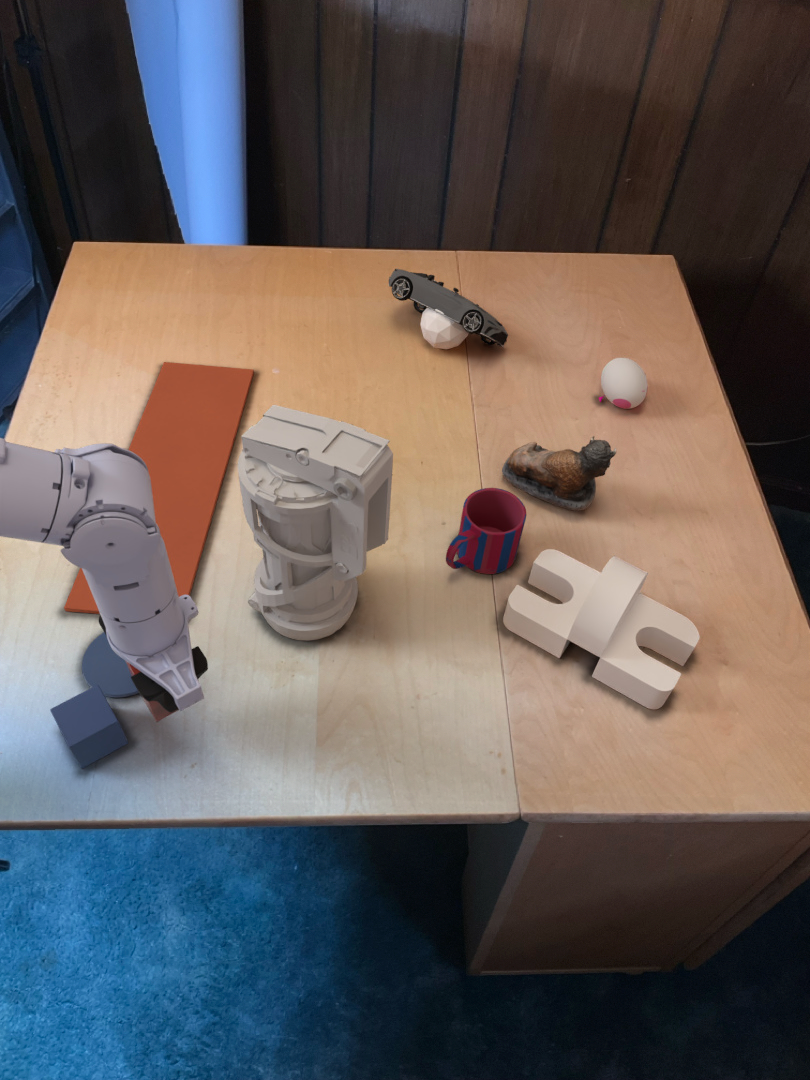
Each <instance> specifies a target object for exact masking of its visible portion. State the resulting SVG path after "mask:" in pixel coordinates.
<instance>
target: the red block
mask: <svg viewBox="0 0 810 1080" xmlns="http://www.w3.org/2000/svg"><path fill="white" fill-rule="evenodd" d="M126 663H127V666H128V669H129V671H130V674H131V676H133V675H135V674H137V673H139V672H141V671H139V670H138V669H137V668H135V667H134V666H132V665H131V664H130V663H128V662H127V661H126ZM199 680H200V679H198V681H199ZM199 682H200V681H199ZM141 698H142V700H143V702H144V703H145V706H146V707H147V708H148V710H149V712H150V714H151V715H152V717H153V719H154V721H155V722H156V723H158V722H160V721H162V720H164V719H166V718H167V717H169V716H171V715H173V714H175V713H177V712H178V711H180V710H179V709H177V710H175V711H174V712H172V713H170V712H168V711H167V710H165V709H164V708H163V706H162V705H161V704H160V703H159V702H157V701H147V700H145V699H144V698H143V697H142V696H141Z"/></svg>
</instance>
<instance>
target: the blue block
mask: <svg viewBox="0 0 810 1080" xmlns="http://www.w3.org/2000/svg"><path fill="white" fill-rule="evenodd" d="M49 711H50V713H51V715H52V717H53V720H54V721H55V723H56V725H57V727H58V729H59V731H60V733H61V736H62V737H63V739H64V741H65V743H66V745H67V747H68V749H69V750H70V752H71V754H72V755H73V758H74V759H75V760H76V762H77V764H78V765H79V767H80V768H81V769H84V768H86V767H88V766H90V765H92V764H93V763H94V764H95V762H97V761H99V760H101V759H103V758H104V757H106V756H109V755H110V754H112V753H114V752H116V751H117V750H119V749H121V748H122V747H124V746H126V745H128V743H129V741H128V739H127V736H126V734H125V732H124V730H123V727H122V725H121V724H120V722H119V720H118V718H117V716H116V714H115V712H114V710H113V709H112V707H111V705H110V703H109V701H108V700H107V697H106V696H104V694H103V692H102V690H101V689H100V687H99V685H96V686H94V687H92V688H91V687H89V688H88V689H86V690H84V691H82V692H81V693H79V694H77V695H75V696H73V697H71V698H69V699H67V700H65V701H63V702H62V703H61V702H60V703H59V704H57V705H55V706H53V707H51V708H50V709H49Z"/></svg>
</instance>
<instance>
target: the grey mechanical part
mask: <svg viewBox="0 0 810 1080" xmlns="http://www.w3.org/2000/svg"><path fill="white" fill-rule="evenodd" d="M240 437H241V444H242V445H241V446H242V449H241V452H240V454H239V456H238V460H237V474H238V481H239V488H240V496H241V499H242V500H241V501H242V507H243V513H244V517H245V520H246V522H247V524H248V526H249V528H250V530H251V532H252V534H253V542H255V543H256V544H257V545H258V547H260V548H261V549H262V559H261V560H260V561H259V563H258V564H257V567H256V570H255V573H254V577H253V578H254V579H253V582H254V583H253V584H254V592H253V593H252V595H251V596H250V597H249V598H248V599H247V603H248V605H249V606H250V607H251V608H252V609H253V610H255V611H257V612H259V613H261V614H262V616H263V618H264V620H265V621H266V622H267V623H268V625H269V626H270V627H271V628H272V629H273V630H274V631H275V632H277V633H278V634H280V635H281V636H284V637H286V638H289V639H290V640H291V639H292V640H297V641H307V642H309V641H317V640H320V639H323V638H326V637H330V636H331V635H333V634H334V633H336V632H337V631H339V630H340V629H341V628H342V627H344V625H345V624H347V622H348V621H349V620H350V617H351V615H352V614H353V612H354V609H355V606H356V603H357V598H358V593H359V592H358V591H359V585H358V579H357V577H358V576H360V575H363V574H364V572H365V571H366V570H367V554H368V552H370V551H371V550H372V551H373V550H374V549H376V548H379V547H381V546H383V545H386V543H387V542H388V540H389V529H390V515H391V500H392V499H391V498H392V483H393V464H394V452H393V451H392V449H391V448H390V446H389V445H388V444H389V443H390V442H391V441H390V439H387V438H386V437H385V438H384V437H383V436H379V435H376V434H374V433H372V432H369V431H367V429H365V428H362V427H359V426H356V425H354V424H351V423H348V422H345V421H343V420H341V421H339V420H337V419H334V418H331V417H327V416H323V415H318V414H314V413H310V412H306V411H303V410H297V409H294V408H290V407H285V406H282V405H277V404H272V405H271V406H270V407H269V408H268V410H266V411H265V412H264V413H263V414H262V418H260V419H259V421H258V422H256V423H255V424H254V425H251V426H250V427H249V428H248V429H246V431H245V432H244V433H243V434H242V435H241V436H240Z"/></svg>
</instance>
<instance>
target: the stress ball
mask: <svg viewBox="0 0 810 1080" xmlns="http://www.w3.org/2000/svg"><path fill="white" fill-rule="evenodd" d="M648 383H649V382H648V378H647V376H646V373H645V371H644V369H643V368H642V367H641V366H640V365H639V363H637V362H636V361H635V360H633V359H631V358H628V357H614V358H613V359H611V360H610V361H608V362H607V363H606V364H605V366H604V367H603V369H602V371H601V375H600V386H601V389H602V392H603V394H604V395H602V396H599V397H598V401H599V402H600V403H601V402H602V400H603V399H604V397H605V398H606V399H607V400H608V401H609V402H610V404H612V405H614V406H616V407H617V408H620V409H627V410H628V409H629V410H630V409H634V408H636V407H638V406H639V405H641V404H642V403H643V402H644V400H645V398H647V394H648V388H649V384H648Z"/></svg>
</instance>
